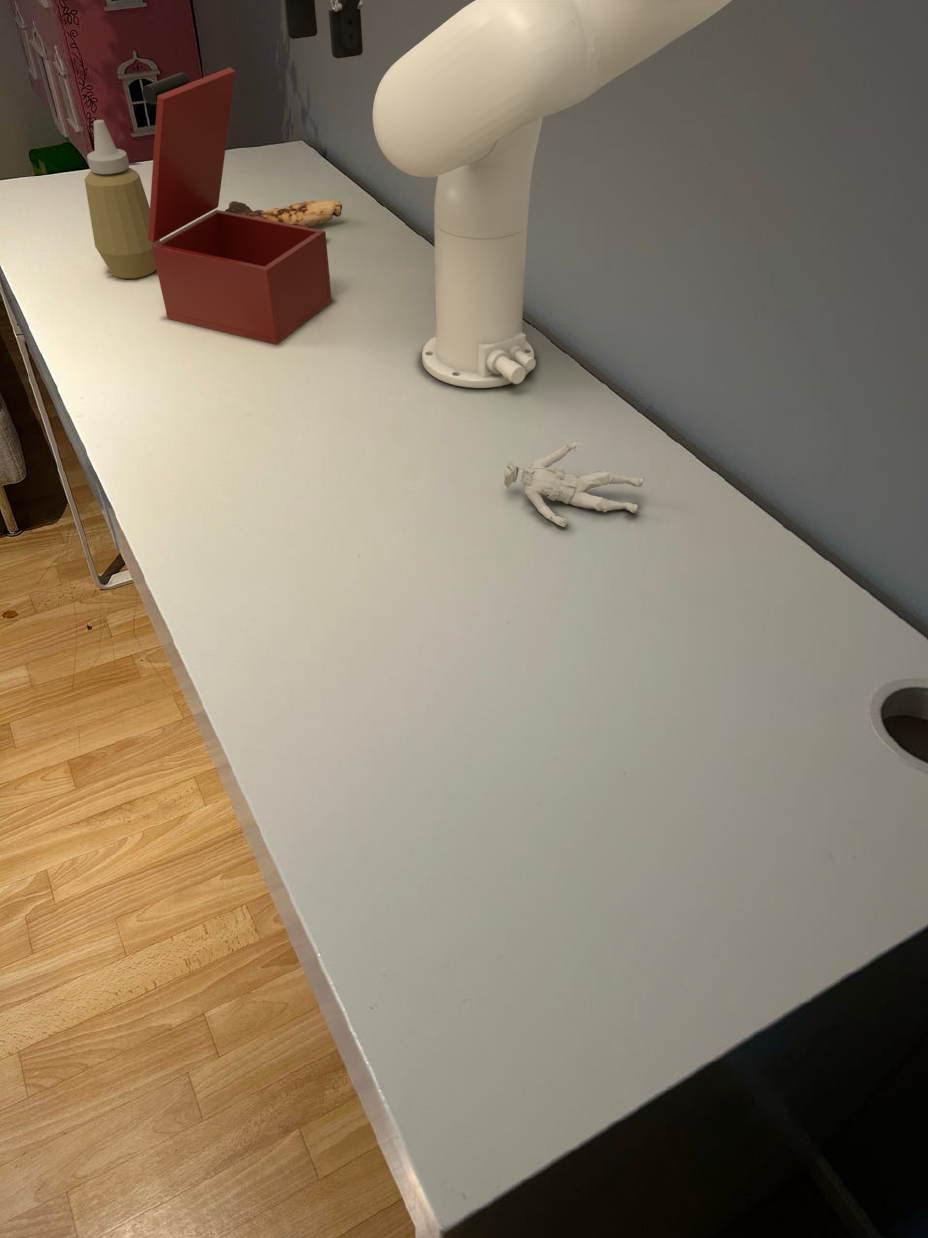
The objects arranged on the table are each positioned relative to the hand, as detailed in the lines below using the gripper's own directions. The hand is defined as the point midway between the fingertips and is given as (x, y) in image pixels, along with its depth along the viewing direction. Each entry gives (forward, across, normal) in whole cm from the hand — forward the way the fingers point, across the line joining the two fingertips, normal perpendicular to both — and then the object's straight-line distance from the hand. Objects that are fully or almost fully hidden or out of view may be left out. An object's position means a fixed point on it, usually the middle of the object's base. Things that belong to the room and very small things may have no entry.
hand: (324, 45), depth 96 cm
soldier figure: (+28, -47, +2) cm, 55 cm away
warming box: (+28, +6, +10) cm, 31 cm away
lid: (+11, +10, +12) cm, 20 cm away
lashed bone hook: (+28, +25, -4) cm, 38 cm away
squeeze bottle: (+28, +25, +18) cm, 42 cm away
